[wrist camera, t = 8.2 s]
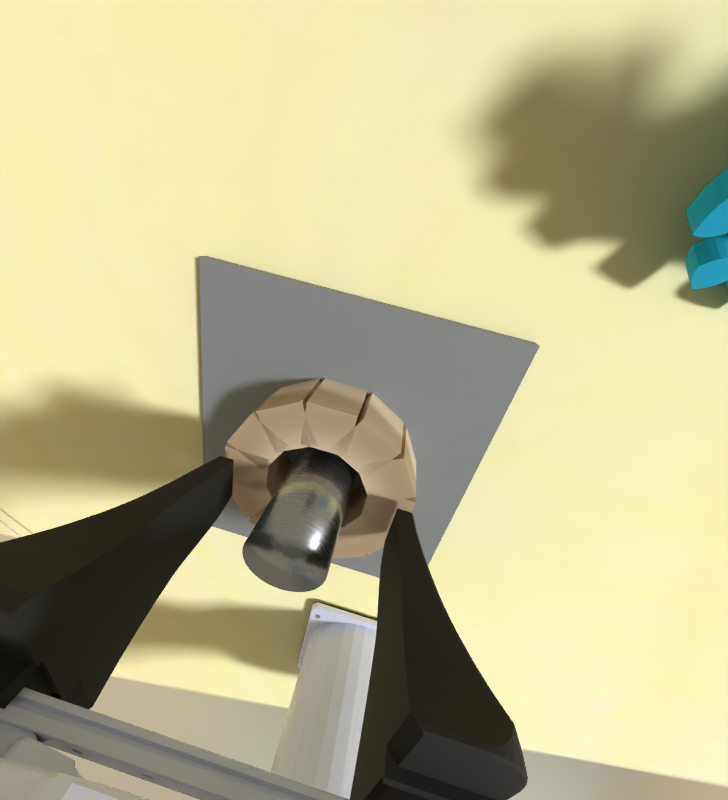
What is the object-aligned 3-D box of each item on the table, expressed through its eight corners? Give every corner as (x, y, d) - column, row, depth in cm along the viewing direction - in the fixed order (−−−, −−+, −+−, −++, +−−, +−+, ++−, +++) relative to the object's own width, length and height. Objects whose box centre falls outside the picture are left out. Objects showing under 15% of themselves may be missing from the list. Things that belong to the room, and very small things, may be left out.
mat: (415, 581, 19) (416, 588, 19) (209, 518, 20) (205, 523, 20) (535, 342, 12) (539, 345, 12) (206, 256, 13) (198, 256, 12)
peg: (352, 486, 16) (318, 601, 11) (298, 470, 16) (240, 576, 11) (365, 442, 15) (335, 549, 10) (307, 424, 15) (245, 520, 10)
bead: (388, 536, 17) (384, 577, 15) (248, 493, 18) (223, 528, 16) (437, 409, 14) (441, 439, 11) (257, 359, 14) (226, 378, 12)
